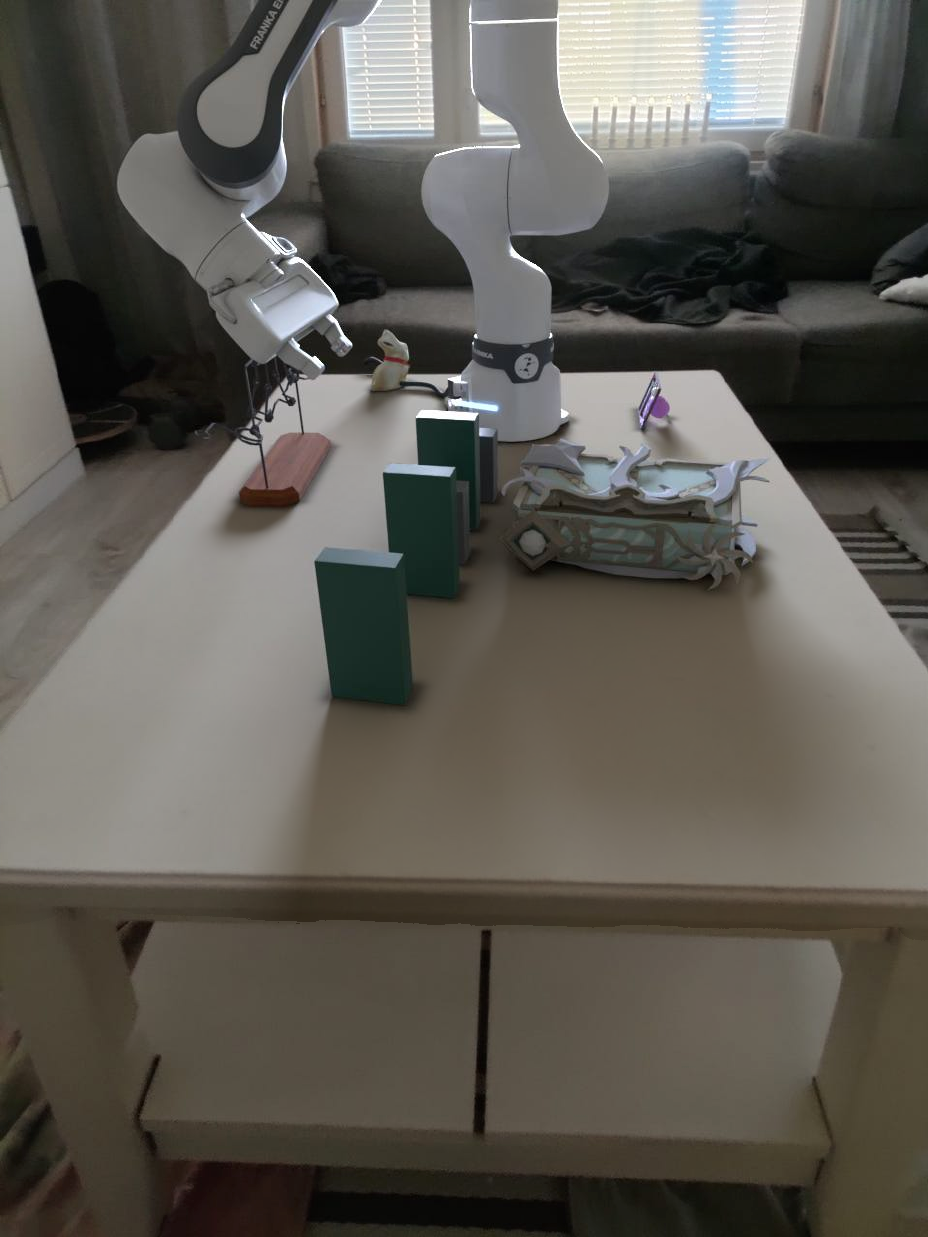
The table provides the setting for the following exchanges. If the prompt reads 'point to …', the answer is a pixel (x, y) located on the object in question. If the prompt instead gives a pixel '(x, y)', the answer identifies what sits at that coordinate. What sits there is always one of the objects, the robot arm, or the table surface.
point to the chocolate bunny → (391, 364)
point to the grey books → (487, 488)
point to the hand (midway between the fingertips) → (334, 362)
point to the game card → (653, 402)
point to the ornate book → (631, 513)
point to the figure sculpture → (278, 450)
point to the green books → (389, 585)
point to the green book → (453, 449)
